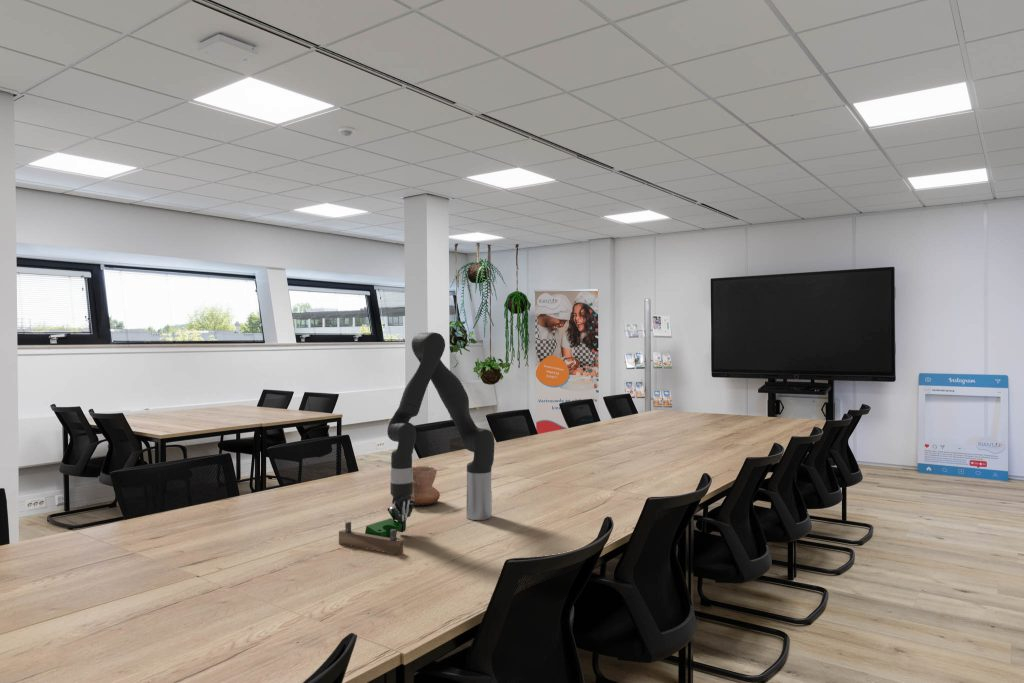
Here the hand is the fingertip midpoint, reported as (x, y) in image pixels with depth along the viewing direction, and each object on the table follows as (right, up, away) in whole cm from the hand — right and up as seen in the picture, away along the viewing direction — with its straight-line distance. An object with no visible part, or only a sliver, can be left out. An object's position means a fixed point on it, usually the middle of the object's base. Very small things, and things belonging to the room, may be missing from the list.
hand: (401, 531), depth 218 cm
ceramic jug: (0, -2, +43) cm, 43 cm away
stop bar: (-7, -1, -15) cm, 17 cm away
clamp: (-5, -1, -7) cm, 9 cm away
